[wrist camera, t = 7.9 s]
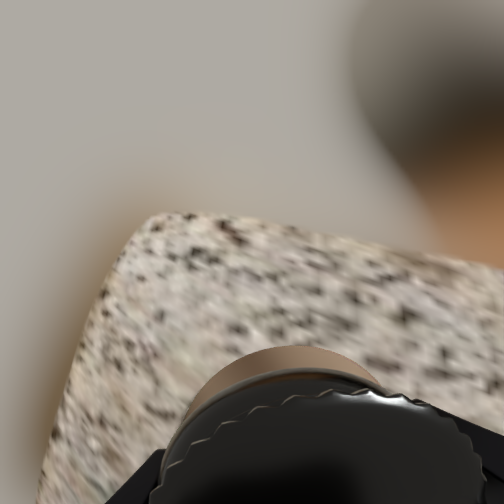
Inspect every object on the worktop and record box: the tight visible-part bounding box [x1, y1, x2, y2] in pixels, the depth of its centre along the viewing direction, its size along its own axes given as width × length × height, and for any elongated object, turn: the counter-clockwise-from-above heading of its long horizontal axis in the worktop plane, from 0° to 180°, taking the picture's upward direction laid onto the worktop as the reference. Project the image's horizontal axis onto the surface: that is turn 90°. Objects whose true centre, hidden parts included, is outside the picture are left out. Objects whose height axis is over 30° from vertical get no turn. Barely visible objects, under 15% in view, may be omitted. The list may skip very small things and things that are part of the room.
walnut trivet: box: [184, 346, 382, 421], centre depth 13 cm, size 12×12×1 cm
